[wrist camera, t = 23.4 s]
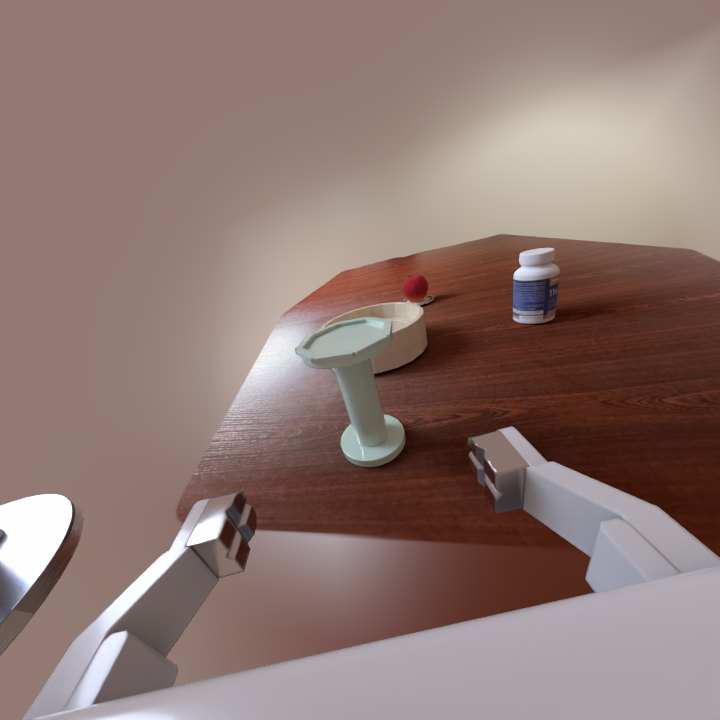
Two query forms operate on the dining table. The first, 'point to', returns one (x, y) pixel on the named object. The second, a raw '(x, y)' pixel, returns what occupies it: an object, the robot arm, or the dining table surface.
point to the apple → (416, 290)
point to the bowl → (394, 332)
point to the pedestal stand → (358, 386)
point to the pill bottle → (535, 287)
